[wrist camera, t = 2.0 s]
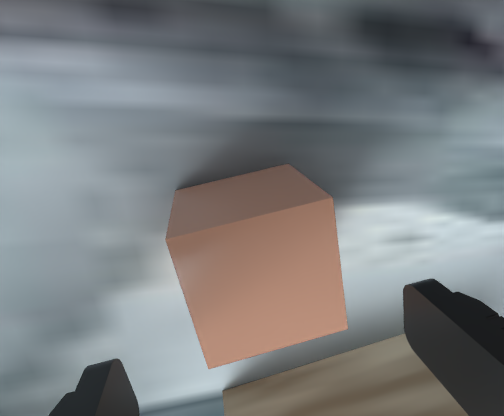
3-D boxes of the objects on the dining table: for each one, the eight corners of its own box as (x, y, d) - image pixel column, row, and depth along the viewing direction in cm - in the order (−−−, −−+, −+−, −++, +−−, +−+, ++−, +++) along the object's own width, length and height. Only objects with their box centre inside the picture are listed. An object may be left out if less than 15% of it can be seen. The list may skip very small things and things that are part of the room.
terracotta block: (175, 189, 14) (165, 239, 9) (288, 163, 14) (332, 197, 10) (204, 286, 16) (208, 369, 11) (303, 260, 16) (347, 329, 11)
